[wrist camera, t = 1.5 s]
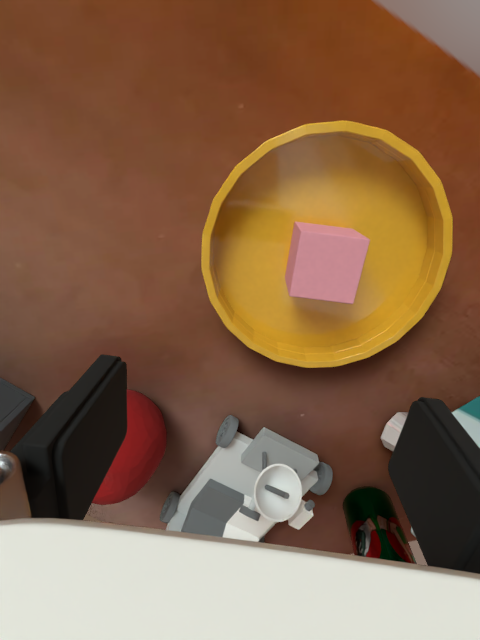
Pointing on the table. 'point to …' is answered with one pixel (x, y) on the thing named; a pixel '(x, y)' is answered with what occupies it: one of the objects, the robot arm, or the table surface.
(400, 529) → the soda can
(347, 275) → the pink block
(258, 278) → the mustard bowl
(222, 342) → the table surface
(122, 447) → the apple
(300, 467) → the toy car
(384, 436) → the toy camera
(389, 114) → the table surface
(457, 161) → the table surface
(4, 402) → the grey bin
